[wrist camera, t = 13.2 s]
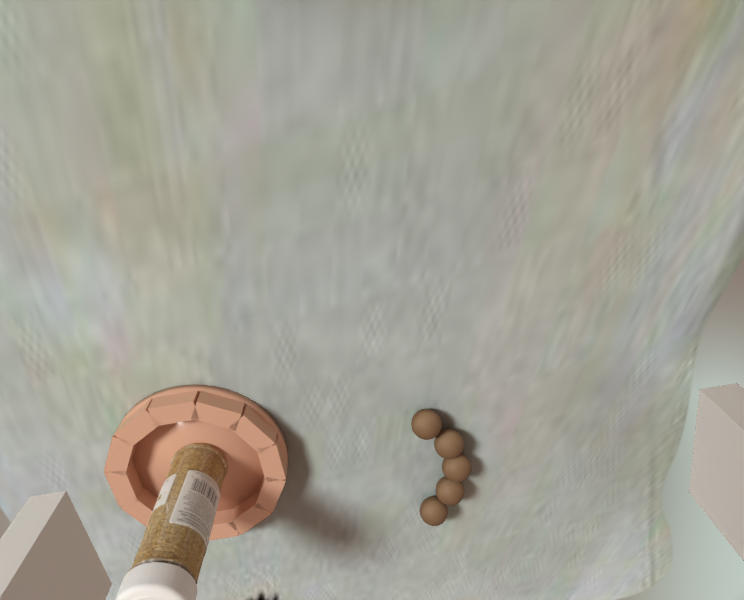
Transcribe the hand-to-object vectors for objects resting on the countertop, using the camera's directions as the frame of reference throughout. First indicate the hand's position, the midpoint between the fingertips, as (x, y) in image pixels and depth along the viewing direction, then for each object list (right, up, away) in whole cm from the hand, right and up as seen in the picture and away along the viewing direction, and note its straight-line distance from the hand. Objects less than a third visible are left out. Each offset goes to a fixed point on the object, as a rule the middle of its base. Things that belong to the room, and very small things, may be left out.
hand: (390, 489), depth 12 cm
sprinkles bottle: (-14, -9, +34) cm, 38 cm away
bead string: (+5, -9, +36) cm, 38 cm away
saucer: (-14, -9, +34) cm, 38 cm away
